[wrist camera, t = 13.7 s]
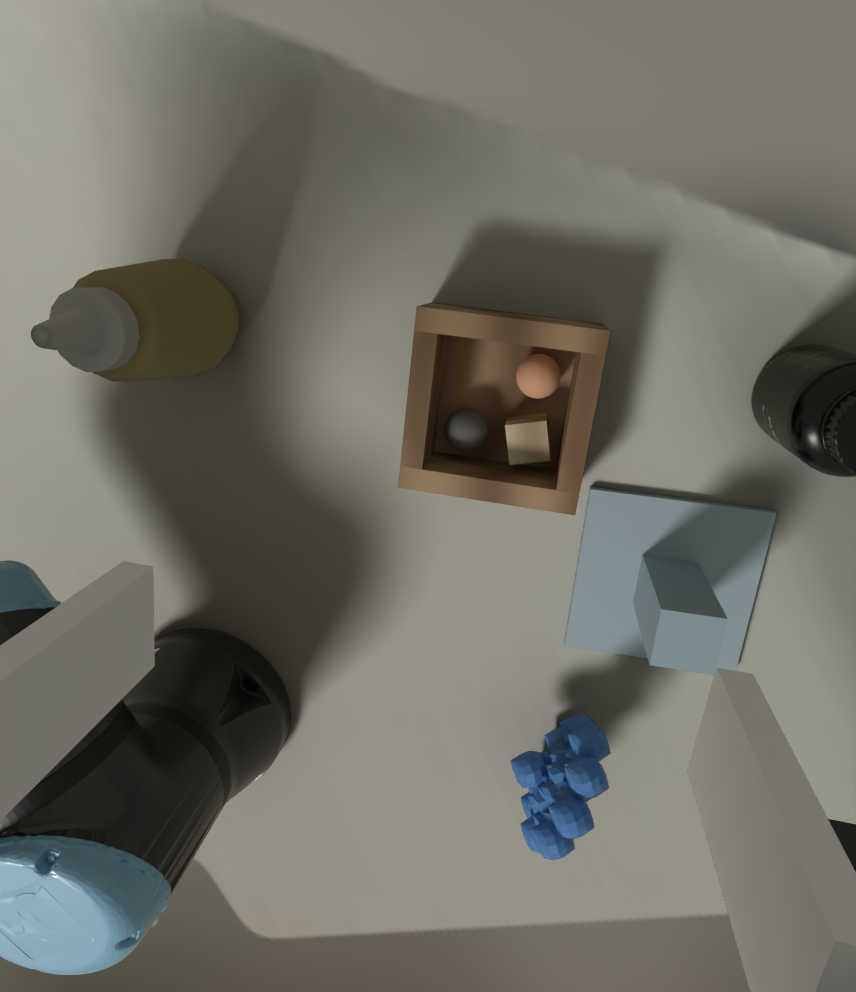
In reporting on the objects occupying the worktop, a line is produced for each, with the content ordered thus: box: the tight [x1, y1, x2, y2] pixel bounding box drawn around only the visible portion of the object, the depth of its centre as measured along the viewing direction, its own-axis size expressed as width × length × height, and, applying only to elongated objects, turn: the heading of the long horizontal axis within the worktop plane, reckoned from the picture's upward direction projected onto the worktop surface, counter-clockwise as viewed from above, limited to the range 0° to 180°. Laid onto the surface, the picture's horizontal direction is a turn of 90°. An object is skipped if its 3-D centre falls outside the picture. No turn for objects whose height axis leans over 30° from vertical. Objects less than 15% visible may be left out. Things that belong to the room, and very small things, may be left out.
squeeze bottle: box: [31, 259, 240, 381], centre depth 44 cm, size 8×8×18 cm
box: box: [398, 303, 610, 515], centre depth 48 cm, size 12×12×6 cm
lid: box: [564, 487, 777, 675], centre depth 49 cm, size 13×13×10 cm
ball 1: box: [445, 408, 487, 451], centre depth 49 cm, size 3×3×3 cm
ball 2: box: [516, 354, 561, 399], centre depth 48 cm, size 3×3×3 cm
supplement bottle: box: [752, 345, 856, 477], centre depth 42 cm, size 7×7×12 cm
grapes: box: [511, 714, 611, 860], centre depth 53 cm, size 12×7×12 cm, turn 158°
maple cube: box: [505, 413, 550, 465], centre depth 49 cm, size 3×3×3 cm
